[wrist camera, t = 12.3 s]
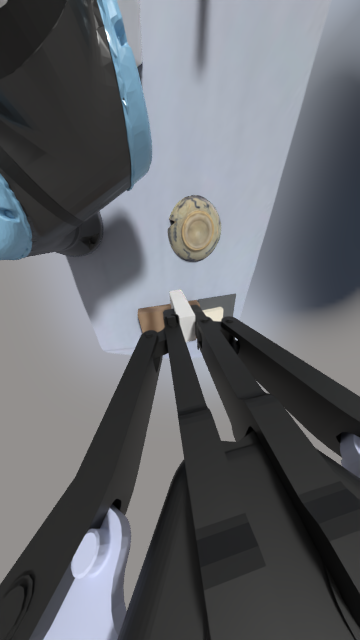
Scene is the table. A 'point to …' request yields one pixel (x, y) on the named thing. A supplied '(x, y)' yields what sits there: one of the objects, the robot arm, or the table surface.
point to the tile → (214, 313)
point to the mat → (219, 304)
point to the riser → (155, 316)
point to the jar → (132, 26)
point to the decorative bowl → (194, 228)
